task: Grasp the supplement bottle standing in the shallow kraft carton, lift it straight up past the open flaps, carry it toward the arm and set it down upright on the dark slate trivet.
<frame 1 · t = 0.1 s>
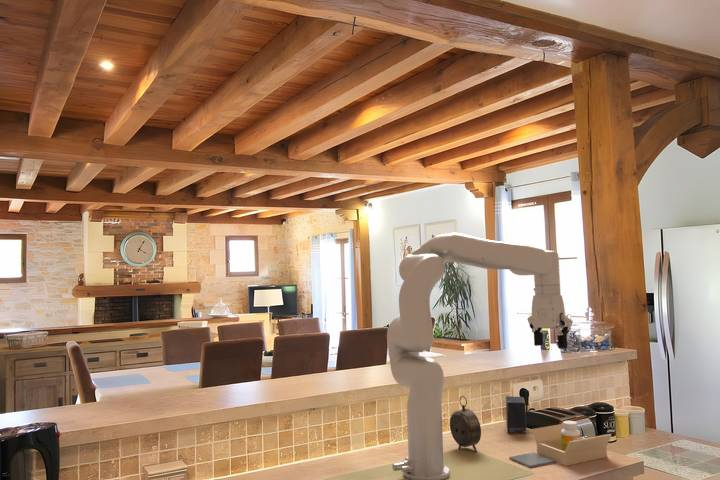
hand: (550, 346, 181), 31 cm above the countertop, tool pointing down, fingers open, 9 cm apart
carton: (571, 455, 172), on the countertop
small box: (516, 430, 203), on the countertop
trivet: (531, 460, 169), on the countertop
supplement bottle: (571, 456, 172), resting in carton
alarm clock: (464, 449, 182), on the countertop
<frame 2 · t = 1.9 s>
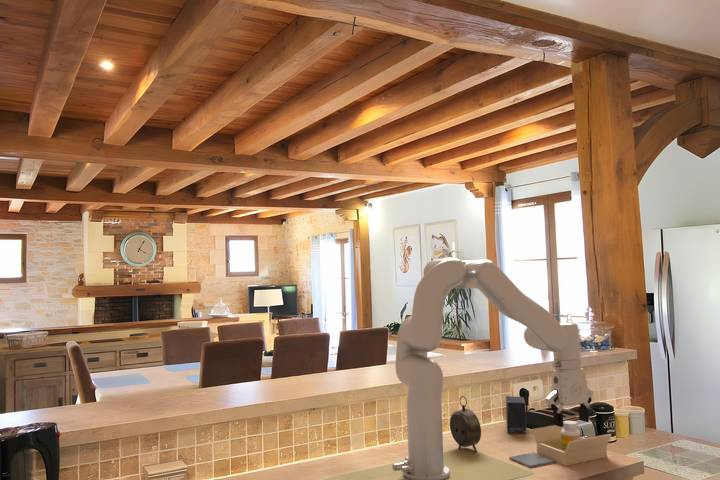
hand: (571, 423, 173), 9 cm above the countertop, tool pointing down, fingers open, 9 cm apart
nothing on the countertop moved.
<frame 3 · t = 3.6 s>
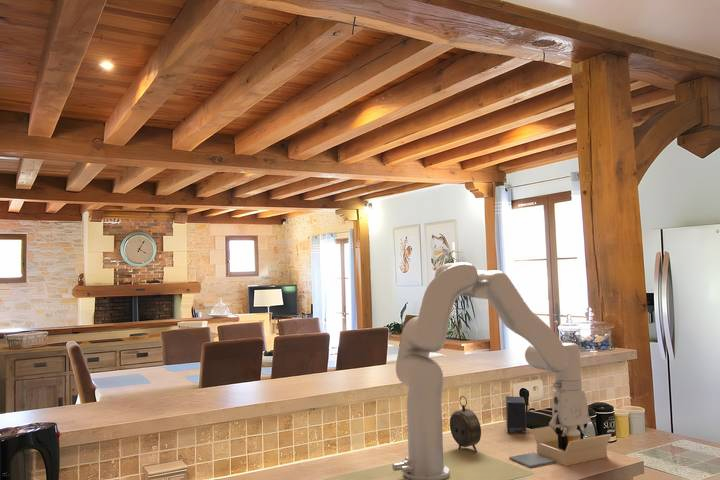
hand: (571, 447, 173), 3 cm above the countertop, tool pointing down, fingers closed on supplement bottle, 5 cm apart
supplement bottle: (571, 456, 172), resting in carton, touching gripper
everything else where it was.
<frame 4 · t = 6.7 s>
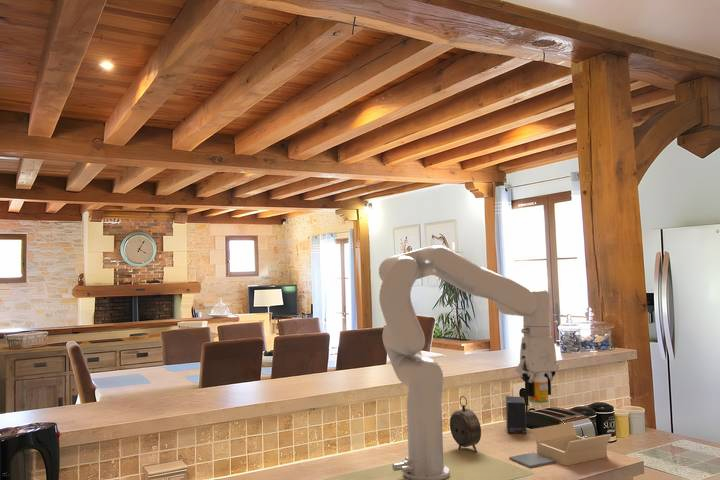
hand: (538, 394, 171), 19 cm above the countertop, tool pointing down, fingers closed on supplement bottle, 5 cm apart
supplement bottle: (538, 403, 171), point 16 cm above the countertop, touching gripper
everything else where it was.
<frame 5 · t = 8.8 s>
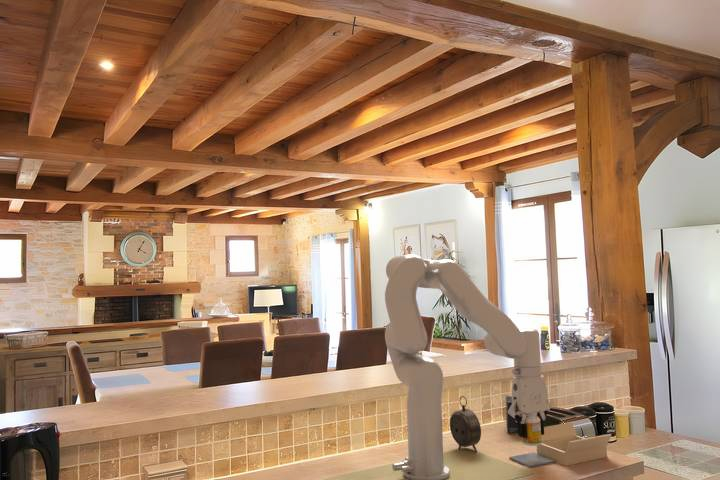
hand: (531, 434, 169), 7 cm above the countertop, tool pointing down, fingers closed on supplement bottle, 5 cm apart
supplement bottle: (531, 444, 169), point 5 cm above the countertop, touching gripper
everything else where it was.
when the fingers open (5 cm above the countertop, at t = 10.1 s): supplement bottle drops 1 cm, resting on trivet.
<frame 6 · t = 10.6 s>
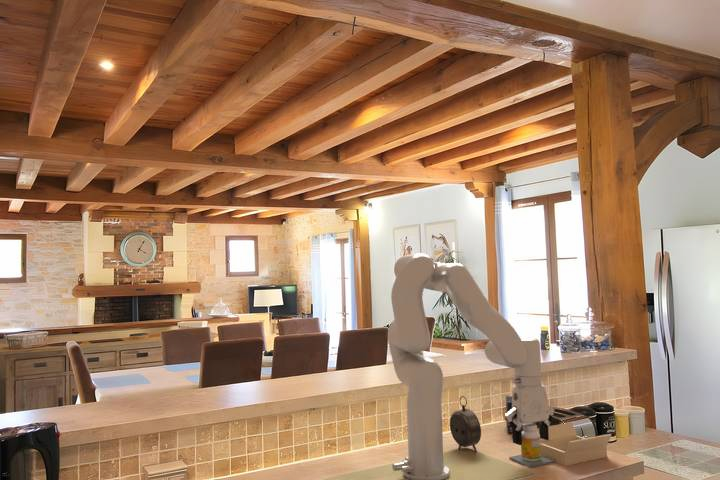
hand: (531, 441, 169), 5 cm above the countertop, tool pointing down, fingers open, 9 cm apart
supplement bottle: (531, 459, 169), resting on trivet
everything else where it was.
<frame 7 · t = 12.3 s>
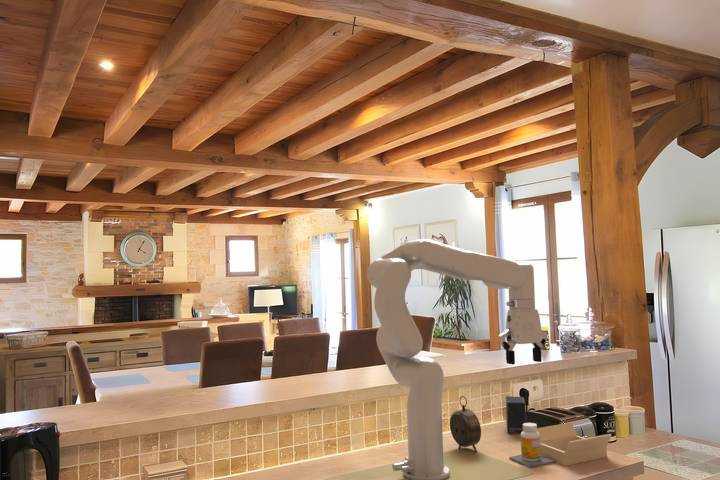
hand: (524, 362, 175), 27 cm above the countertop, tool pointing down, fingers open, 9 cm apart
nothing on the countertop moved.
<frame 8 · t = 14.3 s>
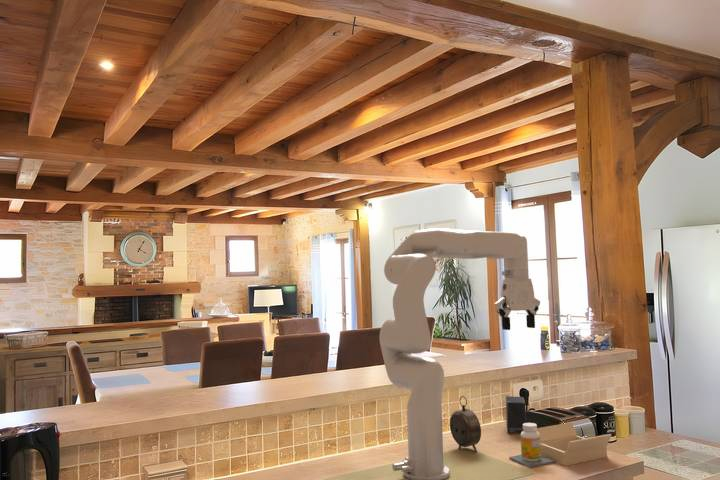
hand: (518, 328, 186), 36 cm above the countertop, tool pointing down, fingers open, 9 cm apart
nothing on the countertop moved.
at the end: supplement bottle 0.2 cm from the trivet (horizontally); supplement bottle resting on trivet; supplement bottle tilted 0° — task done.
